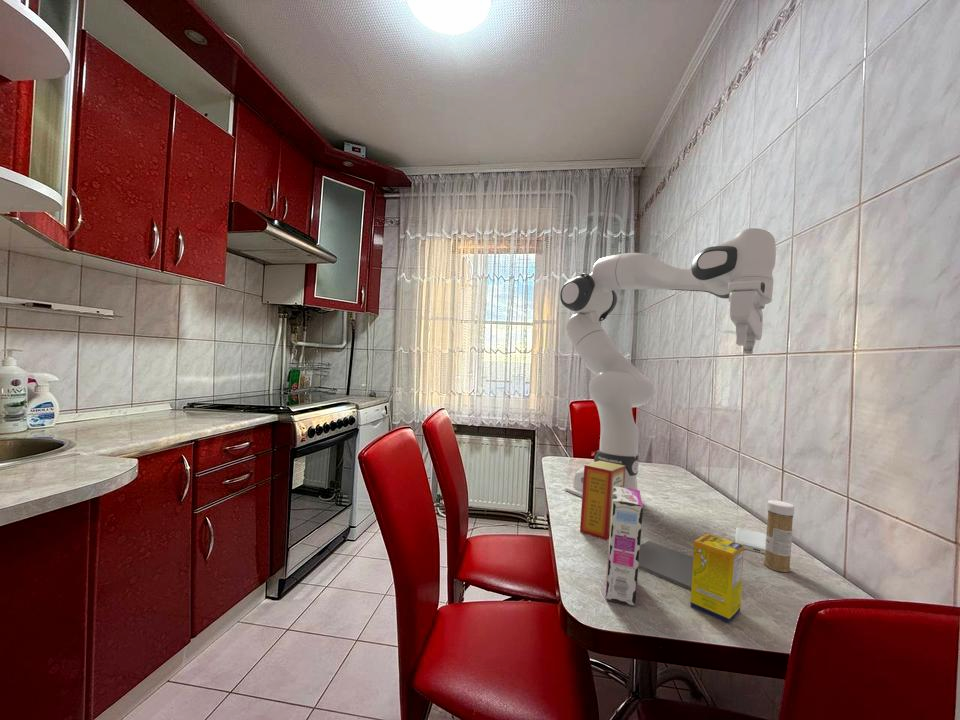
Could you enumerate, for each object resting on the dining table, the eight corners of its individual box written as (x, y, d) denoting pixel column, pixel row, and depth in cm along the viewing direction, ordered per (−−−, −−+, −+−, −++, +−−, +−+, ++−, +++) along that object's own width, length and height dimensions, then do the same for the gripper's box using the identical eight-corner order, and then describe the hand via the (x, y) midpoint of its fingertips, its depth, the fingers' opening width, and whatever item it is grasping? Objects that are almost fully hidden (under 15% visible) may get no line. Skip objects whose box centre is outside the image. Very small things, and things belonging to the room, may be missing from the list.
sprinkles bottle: (763, 560, 90) (766, 497, 90) (789, 567, 88) (793, 502, 88) (764, 568, 86) (768, 502, 86) (792, 575, 84) (795, 508, 84)
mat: (616, 558, 86) (616, 555, 86) (649, 543, 95) (649, 540, 95) (693, 591, 74) (693, 587, 74) (721, 570, 84) (722, 567, 84)
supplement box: (702, 595, 73) (706, 532, 73) (741, 611, 69) (745, 544, 69) (688, 606, 69) (693, 539, 69) (729, 624, 65) (733, 553, 65)
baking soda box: (595, 522, 106) (600, 458, 107) (621, 529, 102) (625, 464, 103) (579, 531, 99) (584, 463, 99) (606, 540, 95) (611, 469, 95)
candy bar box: (637, 608, 67) (644, 505, 68) (605, 600, 69) (611, 500, 69) (634, 577, 78) (640, 488, 78) (606, 571, 80) (612, 484, 80)
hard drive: (735, 527, 108) (735, 541, 97) (774, 535, 103) (778, 552, 93) (735, 533, 107) (735, 548, 97) (774, 542, 103) (778, 559, 93)
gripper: (742, 307, 112) (737, 358, 110) (726, 280, 96) (720, 339, 95) (771, 306, 107) (766, 359, 106) (759, 278, 92) (753, 339, 91)
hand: (744, 349), depth 100 cm, fingers open, 8 cm apart
